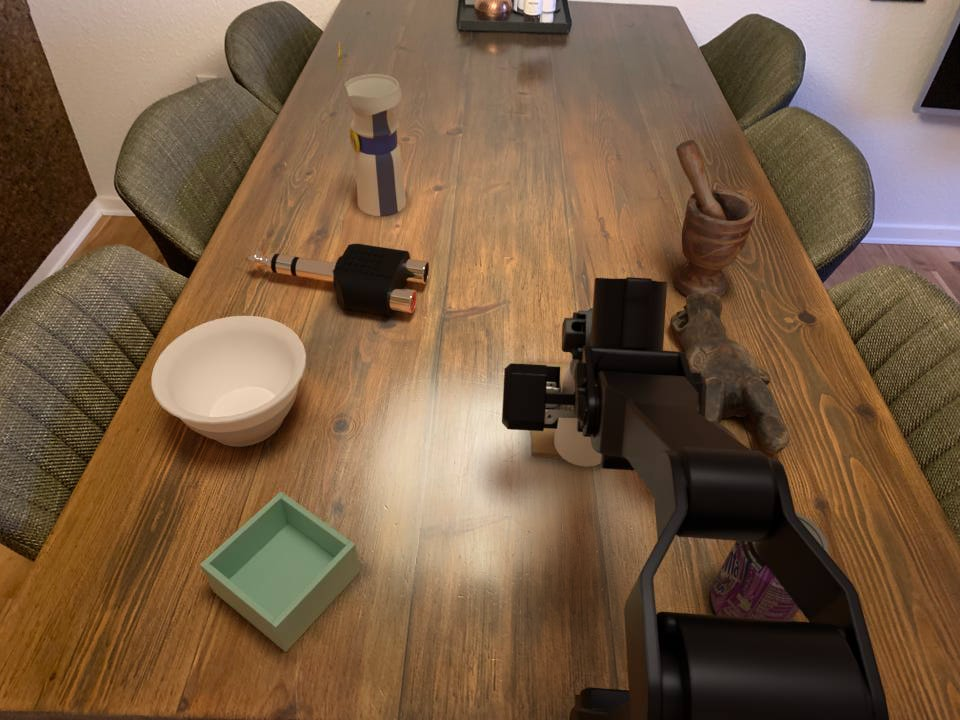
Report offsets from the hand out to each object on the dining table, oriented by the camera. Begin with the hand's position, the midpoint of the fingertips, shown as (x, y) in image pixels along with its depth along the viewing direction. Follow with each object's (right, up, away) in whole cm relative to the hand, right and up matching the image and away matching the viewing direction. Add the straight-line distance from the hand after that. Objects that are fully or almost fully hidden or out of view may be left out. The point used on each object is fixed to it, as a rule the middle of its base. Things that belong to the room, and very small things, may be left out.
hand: (589, 396), depth 75 cm
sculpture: (+17, 0, +11) cm, 21 cm away
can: (0, -6, +4) cm, 7 cm away
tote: (-30, -17, -8) cm, 35 cm away
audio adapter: (-32, +14, +23) cm, 42 cm away
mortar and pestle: (+18, +15, +26) cm, 35 cm away
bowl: (-39, -3, +7) cm, 39 cm away
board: (0, -2, +8) cm, 9 cm away
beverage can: (+13, -19, -8) cm, 25 cm away
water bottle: (-27, +29, +38) cm, 55 cm away
